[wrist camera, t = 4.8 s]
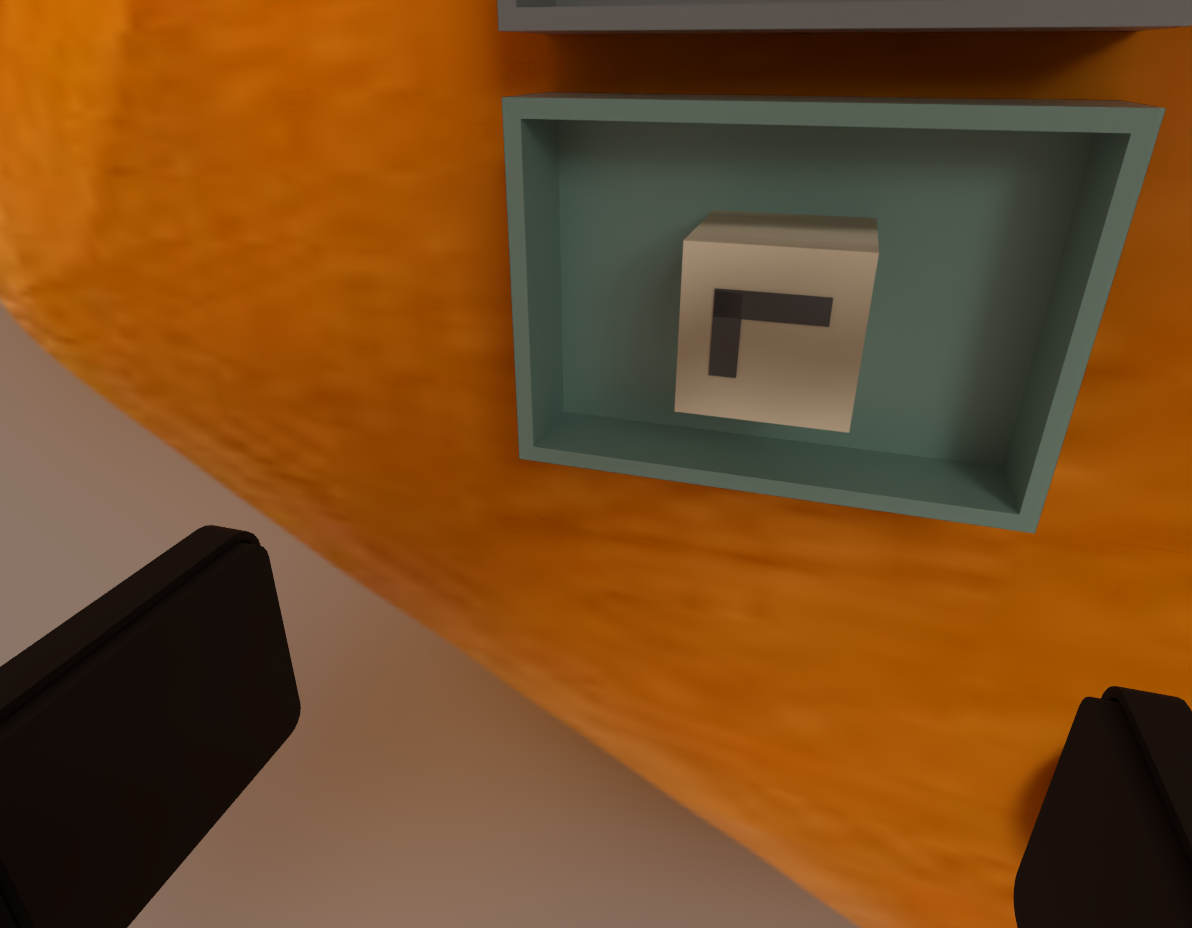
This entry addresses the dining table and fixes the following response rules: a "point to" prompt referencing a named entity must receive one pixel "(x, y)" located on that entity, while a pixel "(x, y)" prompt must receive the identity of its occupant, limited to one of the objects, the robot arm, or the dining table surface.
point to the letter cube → (775, 317)
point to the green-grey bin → (899, 299)
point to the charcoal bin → (837, 16)
